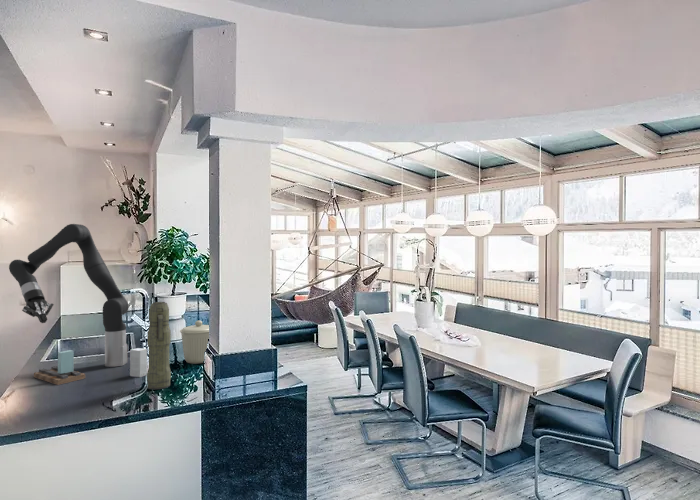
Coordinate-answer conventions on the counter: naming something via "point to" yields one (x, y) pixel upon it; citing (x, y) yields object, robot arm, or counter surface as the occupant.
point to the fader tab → (66, 362)
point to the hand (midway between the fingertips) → (44, 321)
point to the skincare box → (138, 362)
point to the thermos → (159, 346)
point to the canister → (195, 342)
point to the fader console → (58, 376)
